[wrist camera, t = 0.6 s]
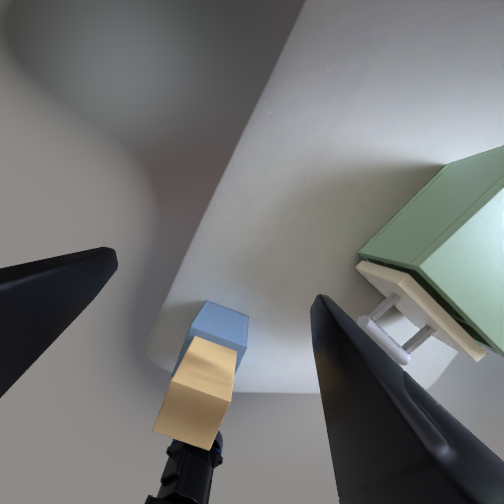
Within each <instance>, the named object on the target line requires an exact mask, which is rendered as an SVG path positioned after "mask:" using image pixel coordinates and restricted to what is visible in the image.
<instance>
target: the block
mask: <svg viewBox="0 0 504 504" xmlns="http://www.w3.org/2000/svg"><path fill="white" fill-rule="evenodd" d="M236 357H237V351H235V350H232V349H230V348H227V347H224V346H221V345H219V344H216V343H213V342H211V341H208V340H205V339H203V338H200V337H197V336H195V337H194V338H193V340H192V342H191V344H190V346H189V348H188V350H187V352H186V354H185V355H184V357H183V359H182V361H181V363H180V365H179V367H178V369H177V370H176V372H175V374H174V376H173V378H172V380H171V382H170V385H169V387H168V390H167V393H166V395H165V398H164V401H163V403H162V406H161V408H160V411H159V414H158V416H157V419H156V422H155V424H154V427H153V429H152V431H153V432H156V433H159V434H162V435H165V436H168V437H171V438H174V439H176V440H179V441H182V442H185V443H188V444H191V445H194V446H197V447H200V448H203V449H206V450H210V448H211V446H212V444H213V441H214V439H215V437H216V434H217V432H218V430H219V427H220V425H221V423H222V421H223V419H224V416H225V414H226V412H227V409H228V407H229V405H230V403H231V397H232V389H233V381H234V373H235V365H236Z"/></svg>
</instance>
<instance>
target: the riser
mask: <svg viewBox="0 0 504 504" xmlns="http://www.w3.org/2000/svg"><path fill="white" fill-rule="evenodd" d="M247 335H248V316H246V315H244V314H241V313H238V312H236V311H233V310H231V309H228V308H225V307H223V306H220V305H217V304H215V303H212V302H210V301H206V302H205V304H204V306H203V307H202V309H201V310H200V312H199V313H198V315H197V317H196V318H195V320H194V321H193V323H192V325H191V326H190V329H189V331H188V334H187V337H186V339H185V342H184V344H183V347H182V350H181V352H180V355H179V358H178V360H177V363H176V365H175V368H174V371H173V373H172V377H173V376H174V374H175V372H176V370H177V369H178V367H179V365H180V363H181V361H182V359H183V357H184V355H185V354H186V352H187V350H188V348H189V346H190V344H191V342H192V340H193V338H194V337H195V336H197V337H200V338H203V339H205V340H208V341H211V342H213V343H216V344H219V345H221V346H224V347H227V348H230V349H232V350H235V351H237V357H236V365H235V373H234V376H235V374H236V371H237V369H238V367H239V364H240V362H241V360H242V358H243V355H244V353H245V351H246V348H247Z"/></svg>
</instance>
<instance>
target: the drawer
mask: <svg viewBox="0 0 504 504" xmlns="http://www.w3.org/2000/svg"><path fill="white" fill-rule="evenodd" d="M383 263H384V264H385V265H386V266H387V267H388V268H387V267H384V266H381V265H377V264H374V263H370V262H367V261H364V260H362V261H361V262H360V263H359V264H358V265H357V266H356V267H355V268H356V269H357V270H358V271H359V272H360V273H361V274H362V275H363V276H364V277H365V278H366V279H367V280H368V281H369V282H370V283H371V284H372V285H373V286H374V287H375V288H377V289H378V290H379V291H380V292H381V293H382V294H383V295H384V296H385V297H386V299H385V300H384V301H383V302H382V303H380V304H379V305H378V306H377V307H376V308H375V309H374V310H373V311H372V312H371V313H370V314H369V315H368V316H367V315H361V316H360V317H358V319H357V320H356V324H357V325H358V326H359V327H360V328H362V329H363V330H364V331H365V332H366V333H367V334H368V335H369V336H370V337H371V338H372V339H373V340H374V341H375V342H376V343H377V344H378V345H379V346H380V347H381V348H382V349H383V350H384V351H385V352H386V353H387V354H388V355H389V356H391V357H392V358H393V359H394V360H395V361H396V362H397V363H398V364H400V365H407V364H409V362H410V360H411V358H410V355H409V354H410V353H412V352H413V351H414V350H415V349H416V348H417V347H418V346H420V345H421V344H422V343H423V342H424V341H425V340H426V339H427V338H429V337H430V336H431V335H432V336H434V337H435V338H437V339H439V340H440V341H442V342H444V343H445V344H447V345H449V346H450V347H452V348H454V349H455V350H457V351H459V352H460V353H462V354H464V355H465V356H467V357H469V358H470V359H472V360H474V361H475V362H478V361H479V360H480V359H481V358H482V357H484V356H485V355H486V354H487V352H486V351H485V350H484V349H483V348H482V347H481V346H480V345H479V344H478V343H477V342H476V341H475V340H474V339H473V338H472V337H471V336H470V335H469V334H468V333H467V332H466V331H465V330H464V329H463V328H462V327H461V326H460V325H459V324H458V323H457V322H456V321H455V320H458V321H460V322H462V323H464V324H467V325H469V324H468V323H467V322H466V321H465V320H464V319H463V317H462V316H461V315H460V314H459V313H458V312H457V311H456V310H455V309H454V308H453V307H452V306H451V305H450V304H449V303H448V302H447V301H446V300H445V299H444V298H443V297H442V296H441V295H440V294H439V293H438V292H437V291H436V290H435V289H434V288H433V287H432V286H431V285H430V284H429V283H428V282H427V281H426V280H425V279H424V278H423V277H422V276H421V275H420V274H419V273H418V272H417V271H416V270H412V269H408V268H404V267H401V266H397V265H393V264H389V263H385V262H383ZM393 305H394V306H395V307H396V308H397V309H398V310H399V311H400V312H401V313H402V314H403V315H404V316H405V317H406V318H407V319H408V320H410V321H411V322H412V323H413V324H414V325H415V326H417V327H419V328H420V329H421V330H420V331H419V332H418V333H416V334H415V335H414V336H413V337H412V338H411V339H410V340H409V341H407V342H406V343H405V344H404V345H403V346H402V347H401V346H399V345H398V344H397V343H396V342H395V341H394V340H393V339H392V338H391V337H390V336H389V335H388V334H387V333H386V332H385V331H384V330H382V329H381V328H380V327H379V326H378V325H377V324H376V323H375V322H376V321H377V320H378V319H379V318H380V317H381V316H382V315H383V314H384V313H385V312H387V311H388V310H389V309H390V308H391V307H392V306H393ZM454 319H455V320H454ZM469 326H470V325H469Z"/></svg>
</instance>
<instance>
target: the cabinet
mask: <svg viewBox="0 0 504 504" xmlns="http://www.w3.org/2000/svg"><path fill="white" fill-rule="evenodd" d="M358 253H359V254H360V255H361V256H362V257H363V258H364V259H365V260H366V261H367V262H370V263H374V264H377V265H381V266H384V267H387V266H386V265H385V264H384V263H383V262H385V263H389V264H393V265H397V266H401V267H404V268H408V269H412V270H416V271H417V272H418V273H419V274H420V275H421V276H422V277H423V278H424V279H425V280H426V281H427V282H428V283H429V284H430V285H431V286H432V287H433V288H434V289H435V290H436V291H437V292H438V293H439V294H440V295H441V296H442V297H443V298H444V299H445V300H446V301H447V302H448V303H449V304H450V305H451V306H452V307H453V308H454V309H455V310H456V311H457V312H458V313H459V314H460V315H461V316H462V317H463V319H464V320H465V321H466V322H467V323H468V324H469V325H470V326H469V325H467V324H464V323H462V322H460V321H458V320H455V319H454V320H455V321H456V322H457V323H458V324H459V325H460V326H461V327H462V328H463V329H464V330H465V331H466V332H467V333H468V334H469V335H470V336H471V337H472V338H473V339H474V340H475V341H476V342H477V343H478V344H480V345H481V346H484V347H485V348H487V349H489V350H491V351H493V352H495V353H497V354H499V355H501V356H503V357H504V146H501V147H498V148H495V149H492V150H488V151H485V152H482V153H479V154H476V155H473V156H470V157H467V158H464V159H461V160H458V161H455V162H451V163H448V164H446V165H445V166H444V167H443V168H442V169H441V170H440V171H439V172H438V173H437V174H436V175H435V176H434V177H433V178H432V179H431V180H430V181H429V182H428V183H427V184H426V185H425V186H424V187H423V188H422V189H421V190H420V191H419V192H418V193H417V194H416V195H415V196H414V197H413V198H412V199H411V200H410V201H409V202H408V203H407V204H406V205H405V206H404V207H403V208H402V209H401V210H400V211H399V212H398V213H397V214H396V215H395V216H394V217H393V218H392V219H391V220H390V221H389V222H388V223H387V224H386V225H385V226H384V227H382V228H381V229H380V230H379V231H378V232H377V233H376V234H375V235H374V236H373V237H372V238H371V239H370V240H369V241H368V242H367V243H366V244H365V245H364V246H363V247H362V248H361V249H360V250H359V251H358ZM387 268H388V267H387Z"/></svg>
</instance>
